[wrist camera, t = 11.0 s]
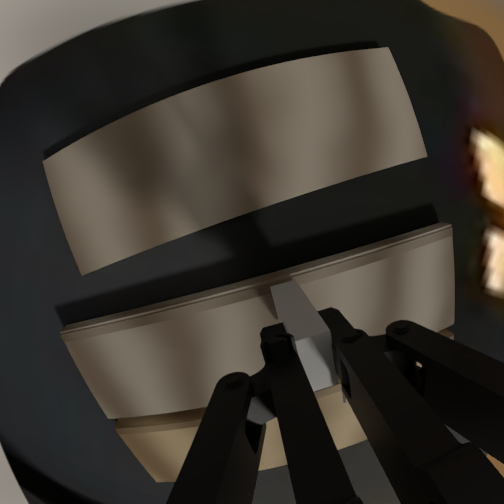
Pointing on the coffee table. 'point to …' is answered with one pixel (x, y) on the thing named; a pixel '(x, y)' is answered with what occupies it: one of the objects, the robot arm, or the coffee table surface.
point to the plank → (230, 151)
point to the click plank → (255, 322)
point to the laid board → (187, 422)
